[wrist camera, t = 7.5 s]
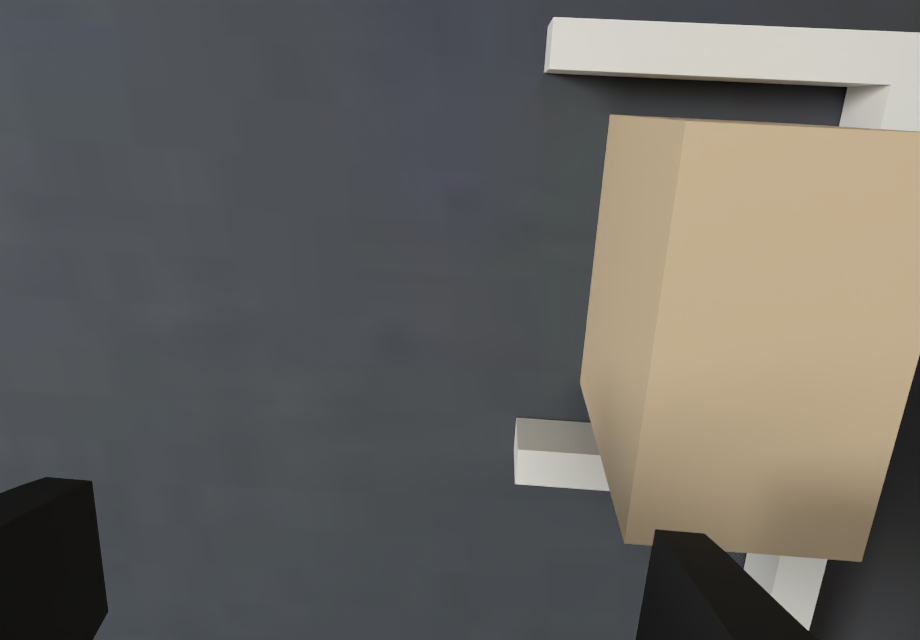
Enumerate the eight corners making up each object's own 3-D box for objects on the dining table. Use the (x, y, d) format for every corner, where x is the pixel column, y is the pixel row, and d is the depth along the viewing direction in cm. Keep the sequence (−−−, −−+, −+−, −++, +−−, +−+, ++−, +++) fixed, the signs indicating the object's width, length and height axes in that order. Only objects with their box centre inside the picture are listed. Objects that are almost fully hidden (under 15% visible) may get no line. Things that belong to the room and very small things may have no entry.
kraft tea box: (736, 393, 18) (873, 562, 11) (579, 382, 18) (624, 543, 11) (787, 123, 16) (996, 136, 9) (609, 114, 16) (685, 121, 9)
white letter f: (762, 694, 21) (785, 746, 19) (495, 670, 21) (495, 720, 20) (921, 43, 15) (975, 34, 13) (547, 26, 15) (553, 16, 14)
